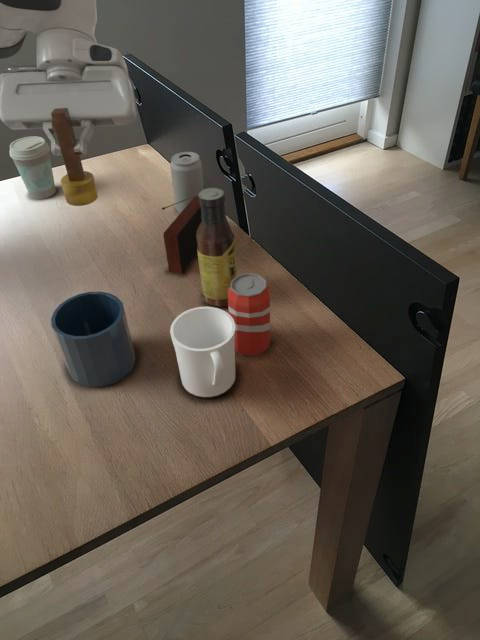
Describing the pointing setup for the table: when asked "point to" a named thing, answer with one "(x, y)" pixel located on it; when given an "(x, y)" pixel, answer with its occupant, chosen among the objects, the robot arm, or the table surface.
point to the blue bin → (94, 338)
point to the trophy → (72, 163)
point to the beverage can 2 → (250, 313)
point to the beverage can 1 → (186, 177)
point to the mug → (205, 351)
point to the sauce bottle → (215, 248)
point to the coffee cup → (34, 165)
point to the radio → (183, 236)
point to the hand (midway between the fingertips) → (69, 153)
